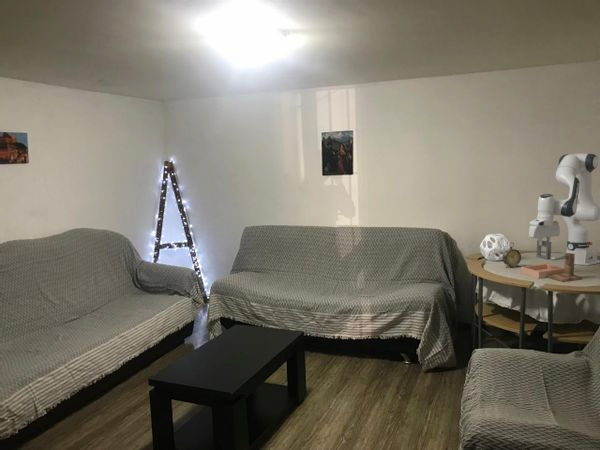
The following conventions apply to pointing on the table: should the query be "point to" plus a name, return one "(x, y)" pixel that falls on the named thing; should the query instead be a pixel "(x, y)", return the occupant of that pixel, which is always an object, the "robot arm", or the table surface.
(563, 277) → the stand
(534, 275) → the dish
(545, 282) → the table surface
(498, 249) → the decorative ball
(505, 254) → the alarm clock
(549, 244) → the grey rectangular frame
